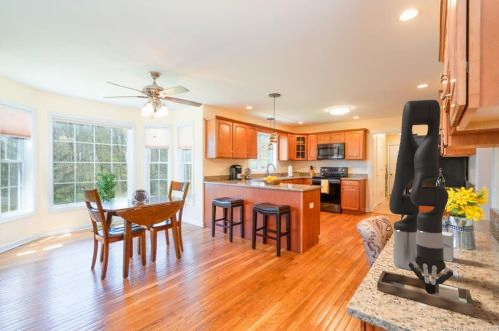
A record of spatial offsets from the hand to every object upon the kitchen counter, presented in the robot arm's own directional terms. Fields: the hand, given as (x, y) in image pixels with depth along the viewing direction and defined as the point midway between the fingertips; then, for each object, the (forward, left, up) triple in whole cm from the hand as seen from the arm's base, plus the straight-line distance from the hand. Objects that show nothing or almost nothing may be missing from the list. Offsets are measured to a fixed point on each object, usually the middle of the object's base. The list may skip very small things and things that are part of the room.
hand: (430, 293), depth 83 cm
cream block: (+3, +4, -1) cm, 5 cm away
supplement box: (-35, +33, -2) cm, 49 cm away
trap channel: (-2, -2, -2) cm, 3 cm away
